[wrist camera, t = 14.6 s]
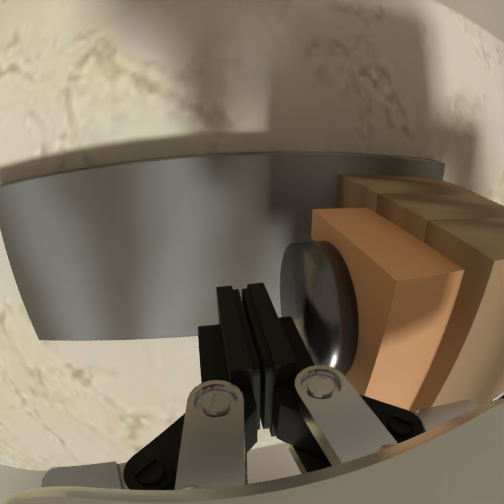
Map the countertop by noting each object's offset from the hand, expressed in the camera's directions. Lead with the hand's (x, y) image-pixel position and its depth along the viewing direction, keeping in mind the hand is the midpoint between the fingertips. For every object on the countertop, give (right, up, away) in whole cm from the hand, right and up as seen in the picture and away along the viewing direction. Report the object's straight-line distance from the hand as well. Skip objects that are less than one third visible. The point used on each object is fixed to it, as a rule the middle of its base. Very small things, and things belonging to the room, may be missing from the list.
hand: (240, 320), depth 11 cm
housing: (-1, +3, +6) cm, 6 cm away
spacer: (+4, +1, +3) cm, 5 cm away
